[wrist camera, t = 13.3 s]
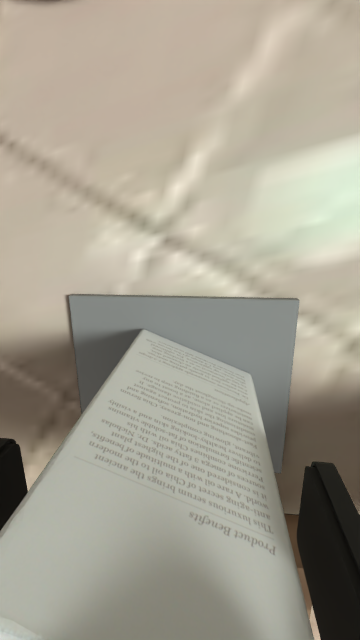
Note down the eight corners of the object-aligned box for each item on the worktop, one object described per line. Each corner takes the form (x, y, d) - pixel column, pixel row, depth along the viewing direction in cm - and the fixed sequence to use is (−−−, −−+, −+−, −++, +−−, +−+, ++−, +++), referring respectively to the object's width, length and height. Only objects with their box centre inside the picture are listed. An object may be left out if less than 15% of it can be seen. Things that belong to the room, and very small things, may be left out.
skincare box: (116, 395, 17) (-105, 757, 5) (143, 325, 15) (-72, 606, 4) (220, 439, 17) (226, 894, 5) (256, 373, 15) (365, 791, 4)
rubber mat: (72, 294, 16) (68, 295, 15) (297, 298, 15) (299, 300, 14) (89, 452, 18) (86, 457, 18) (279, 467, 17) (281, 473, 17)
